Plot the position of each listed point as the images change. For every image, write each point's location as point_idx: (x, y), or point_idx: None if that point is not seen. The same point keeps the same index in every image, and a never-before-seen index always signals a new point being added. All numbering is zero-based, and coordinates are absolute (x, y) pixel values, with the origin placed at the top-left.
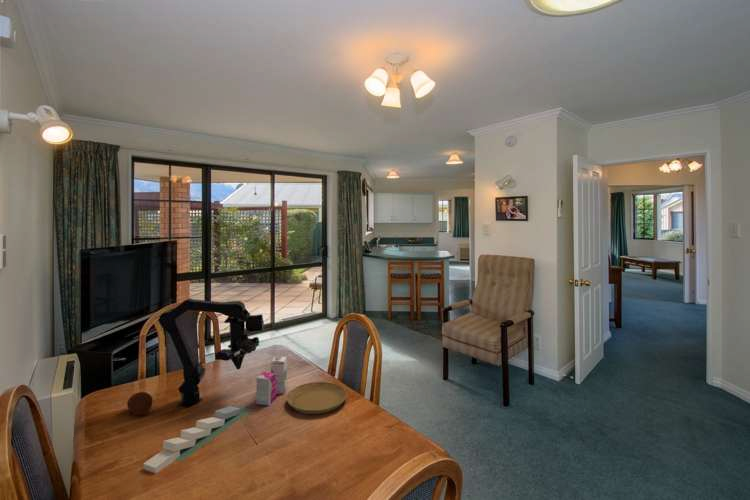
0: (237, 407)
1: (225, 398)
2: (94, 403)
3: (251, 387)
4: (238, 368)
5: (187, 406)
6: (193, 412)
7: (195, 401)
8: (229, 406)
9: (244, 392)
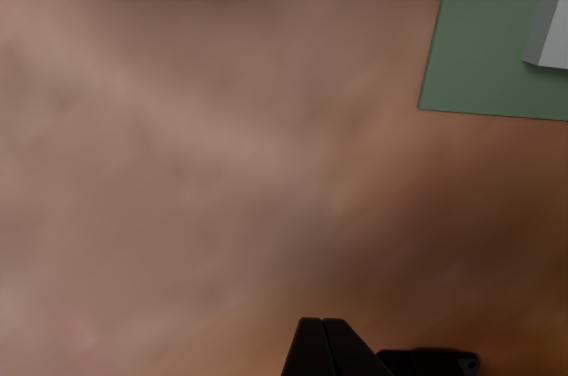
0: (452, 35)
1: (317, 237)
2: None
3: (75, 162)
4: (353, 335)
5: (474, 369)
6: (528, 297)
7: (452, 364)
8: (560, 63)
9: (181, 162)
